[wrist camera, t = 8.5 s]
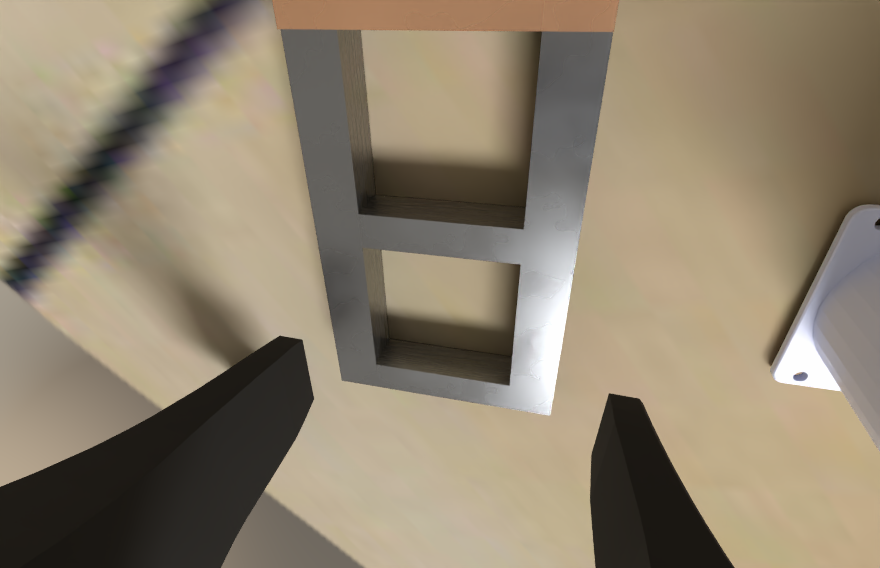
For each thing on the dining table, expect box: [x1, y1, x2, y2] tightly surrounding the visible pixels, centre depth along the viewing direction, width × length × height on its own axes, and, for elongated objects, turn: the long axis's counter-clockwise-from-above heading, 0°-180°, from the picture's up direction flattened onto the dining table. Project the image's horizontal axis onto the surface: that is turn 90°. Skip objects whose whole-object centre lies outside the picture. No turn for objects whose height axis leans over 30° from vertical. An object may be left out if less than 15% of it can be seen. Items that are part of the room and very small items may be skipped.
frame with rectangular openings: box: [272, 0, 619, 416], centre depth 17 cm, size 10×26×2 cm, turn 1°
